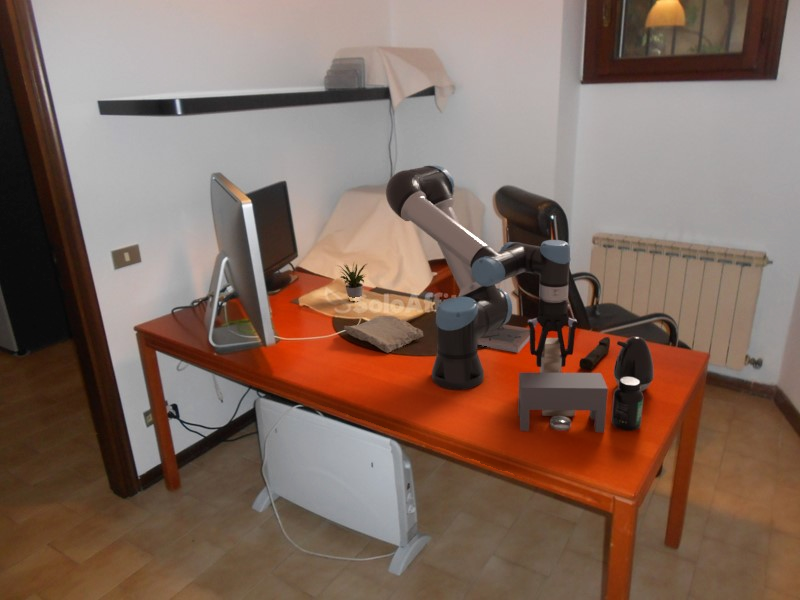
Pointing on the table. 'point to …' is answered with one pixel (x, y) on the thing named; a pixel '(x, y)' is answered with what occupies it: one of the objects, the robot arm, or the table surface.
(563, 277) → the robot arm
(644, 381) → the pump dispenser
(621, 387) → the supplement bottle
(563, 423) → the steel token
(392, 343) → the flat stone slab
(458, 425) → the table surface
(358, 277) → the house plant
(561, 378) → the grey step stool
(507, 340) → the picture frame
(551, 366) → the ash-wood pusher
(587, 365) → the hand tool
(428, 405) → the table surface
